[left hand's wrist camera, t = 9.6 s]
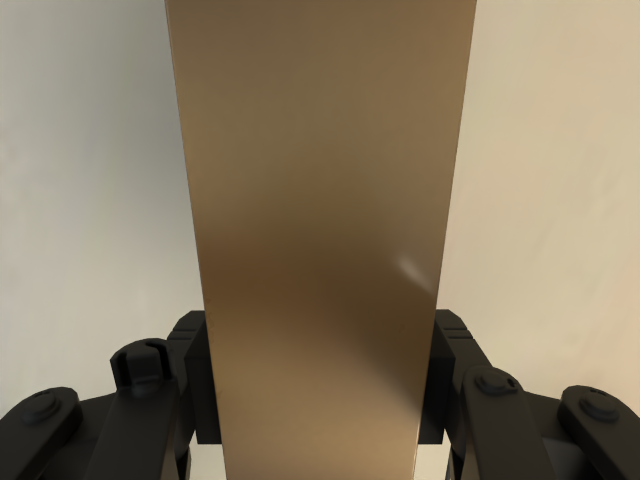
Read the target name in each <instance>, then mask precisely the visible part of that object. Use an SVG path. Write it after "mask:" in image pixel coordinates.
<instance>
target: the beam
mask: <svg viewBox="0 0 640 480" xmlns="http://www.w3.org/2000/svg"><path fill="white" fill-rule="evenodd" d="M476 3H477V0H165V8H166V16H167V23H168V31H169V39H170V47H171V54H172V62H173V70H174V77H175V85H176V93H177V100H178V108H179V116H180V124H181V131H182V139H183V147H184V154H185V162H186V170H187V178H188V185H189V193H190V201H191V208H192V216H193V224H194V232H195V239H196V247H197V255H198V262H199V270H200V278H201V285H202V293H203V301H204V309H205V316H206V324H207V332H208V339H209V347H210V355H211V363H212V370H213V378H214V386H215V393H216V401H217V409H218V417H219V424H220V432H221V440H222V447H223V455H224V463H225V470H226V478H227V480H413V477H414V470H415V462H416V454H417V447H418V439H419V432H420V424H421V417H422V409H423V402H424V394H425V387H426V379H427V372H428V364H429V357H430V349H431V342H432V334H433V327H434V319H435V311H436V304H437V296H438V289H439V281H440V274H441V266H442V259H443V251H444V244H445V236H446V229H447V221H448V214H449V206H450V199H451V191H452V183H453V176H454V168H455V161H456V153H457V146H458V138H459V131H460V123H461V116H462V108H463V101H464V93H465V86H466V78H467V71H468V63H469V56H470V48H471V40H472V33H473V25H474V18H475V10H476Z"/></svg>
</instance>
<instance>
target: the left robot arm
mask: <svg viewBox="0 0 640 480" xmlns="http://www.w3.org/2000/svg"><path fill="white" fill-rule="evenodd" d="M110 363H111V367H112V371H113V375H114V379H115V383H116V387H117V391H116V392H115V393H112V394H108V395H105V396H100V397H96V398H92V399H87V400H83V401H79V398H78V394H77V392H75V391H74V390H73V389H72V388H67V387H57V388H50V389H47V390H44V391H40V392H38V393H35V394H33V395H31V396H30V397H28V398H26V399H24V400H22V401H21V402H20V403H18V404H17V405H16V406H15V407H13V408H12V409H11V410H10V411H9V412H8V413H7V414H6V415H5V416H4V417H3V418H2V419H1V420H0V480H189V478H190V468H191V454H190V448H189V444H190V441H191V438H192V436H193V433H194V431H196V437H197V443H198V444H222V440H221V432H220V424H219V417H218V409H217V401H216V393H215V386H214V378H213V370H212V363H211V355H210V347H209V339H208V332H207V324H206V316H205V311H190V312H189V313H187V314H186V315H185V316H183V317H182V318H180V319H179V320H178V322H177V324H176V325H175V327H174V328H173V331H171V333H170V334H169V336H168V337H167V340H164V339H160V338H147V339H143V340H139V341H135V342H133V343H130V344H128V345H126V346H124V347H123V348H121V349H120V350H118V351H117V352H116V353H115V354H114V355H113V356H112V358H111V359H110ZM444 429H445V430H446V432H447V435H448V437H449V440H450V443H451V448H450V453H449V459H448V465H447V471H446V477H445V480H450V477H451V480H640V418H639V417H638V416H637V415H636V414H635V413H634V412H633V411H632V410H631V409H630V408H629V407H628V406H626V405H625V404H624V403H623V402H621V401H620V400H619V399H617V398H615V397H614V396H612V395H610V394H608V393H606V392H604V391H601V390H599V389H595V388H592V387H588V386H580V385H576V386H570V387H568V388H566V389H565V390H564V391H563V393H562V397H561V400H559V399H555V398H550V397H546V396H542V395H537V394H533V393H530V392H526V391H524V390H523V388H522V387H521V385H520V383H519V382H518V381H517V380H516V379H515V378H514V377H512V376H511V375H510V374H508V373H506V372H504V371H502V370H500V369H498V368H494V367H493V366H492V365H491V363H490V362H489V360H488V359H487V357H486V356H485V354H484V353H483V351H482V350H481V348H480V347H479V345H478V344H477V342H476V341H475V339H473V336H472V335H471V333H470V332H469V330H467V327H466V326H465V324H464V323H463V321H462V320H461V318H460V317H458V316H457V315H455V314H454V313H453V312H451V311H450V310H449V309H436V311H435V319H434V327H433V334H432V342H431V349H430V357H429V364H428V372H427V379H426V387H425V394H424V402H423V409H422V417H421V424H420V432H419V439H418V444H442V441H443V435H444Z"/></svg>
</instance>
